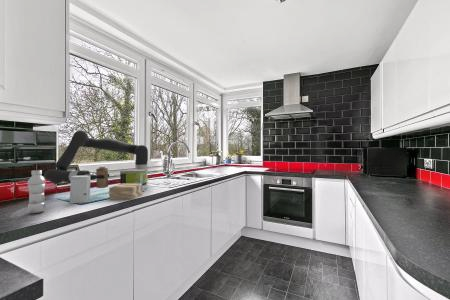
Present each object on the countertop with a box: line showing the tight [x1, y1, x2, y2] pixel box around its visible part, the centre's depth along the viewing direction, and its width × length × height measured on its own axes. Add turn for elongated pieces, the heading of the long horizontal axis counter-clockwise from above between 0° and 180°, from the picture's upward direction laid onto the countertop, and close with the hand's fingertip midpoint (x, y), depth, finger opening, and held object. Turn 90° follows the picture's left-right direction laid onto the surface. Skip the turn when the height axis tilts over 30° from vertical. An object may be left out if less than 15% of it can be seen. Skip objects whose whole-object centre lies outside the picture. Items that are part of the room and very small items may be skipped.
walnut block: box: [95, 166, 109, 189], centre depth 129 cm, size 4×4×13 cm
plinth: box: [108, 183, 143, 200], centre depth 128 cm, size 14×14×7 cm
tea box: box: [119, 169, 147, 192], centre depth 148 cm, size 15×10×15 cm
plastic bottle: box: [27, 169, 47, 214], centre depth 96 cm, size 6×7×20 cm
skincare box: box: [69, 176, 91, 204], centre depth 116 cm, size 8×6×15 cm
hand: (106, 176), depth 129 cm, fingers closed on walnut block, 4 cm apart
